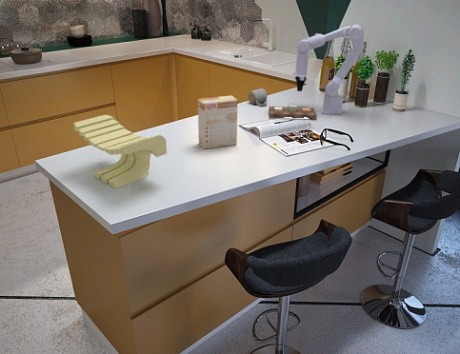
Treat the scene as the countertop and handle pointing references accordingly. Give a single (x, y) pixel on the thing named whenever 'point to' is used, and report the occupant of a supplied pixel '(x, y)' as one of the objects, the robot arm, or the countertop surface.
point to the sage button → (292, 108)
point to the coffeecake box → (217, 121)
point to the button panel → (291, 113)
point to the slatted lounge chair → (120, 149)
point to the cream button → (278, 109)
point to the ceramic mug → (258, 97)
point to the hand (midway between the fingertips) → (299, 90)
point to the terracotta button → (306, 110)
